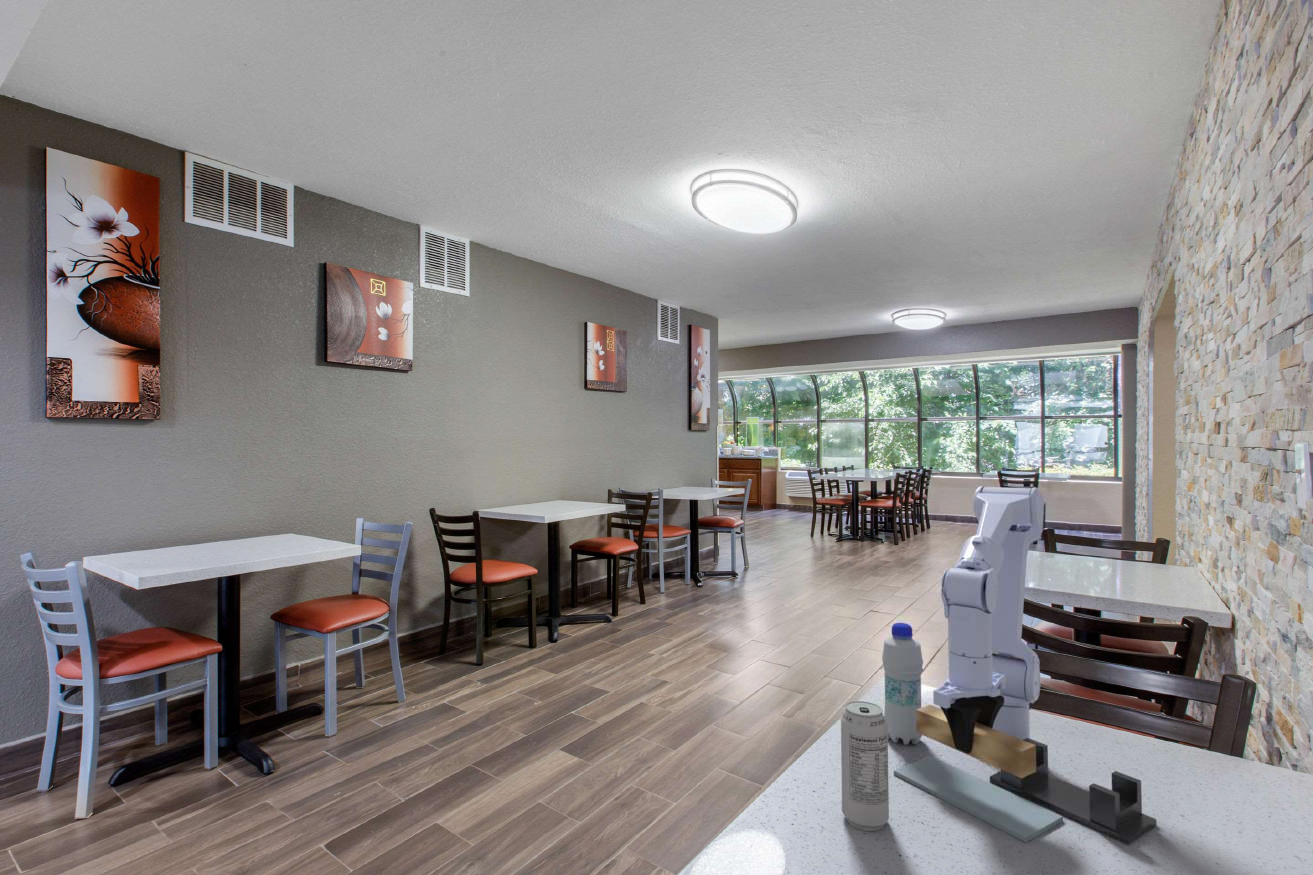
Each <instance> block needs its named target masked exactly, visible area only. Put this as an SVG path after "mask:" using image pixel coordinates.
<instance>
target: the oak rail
mask: <svg viewBox="0 0 1313 875" xmlns="http://www.w3.org/2000/svg"><path fill="white" fill-rule="evenodd" d="M916 733H919V734H921V735H922V736H924V737H926V738H929V740H933V741H935V742H937V743H940V744H942V745H944V746H946V747H949V748H952V749H953V750H955V751H958V752H961V753H963V754H965V755H967V756H969V757H972V758H973V759H976V760H978V761H981V762H983V763H985V764H988V765H990V766H993V767H995V768H997V769H999V770H1000V769H1001V770H1004V771H1006V772H1008V773H1011V774H1013V775H1015V776H1018V777H1020V778H1024V777H1026V776H1028V775H1030V774H1032V773H1034V772H1036V745H1034V744H1031V743H1029V742H1026V741H1024V740H1021V739H1018V738H1016V737H1013V736H1010V735H1008V734H1005V733H1003V732H1000V731H997V730H995V729H992V728H990V727H987V726H984V725H982V724H979V723H977V722H976V724H975V728H974V738H973V747H972V751H971V753H965V752H963V751H961V750H958V749H956V748H955V744H954V741H953V737H952V733H951V730H950V727H949V724H948V721H947V719H946V717H945V715H944V713H943V711H942V709H941V708H940V707H937V706H934V705H932V704H929V705H926V706H921V708H919V709H916ZM1001 770H1000V771H1001Z"/></svg>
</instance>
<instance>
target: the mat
mask: <svg viewBox="0 0 1313 875" xmlns="http://www.w3.org/2000/svg"><path fill="white" fill-rule="evenodd" d="M893 776H897V777H898V778H900V779H902V780H904V781H906V782H908V783H909V784H912V785H914V786H915V787H918V788H920V789H922V790H924V791H925V792H927V793H929V794H931V795H933V796H935V797H937V798H939V799H941V800H943V801H944V802H947V803H948V804H950V805H953V806H955V807H956V808H958V809H960V810H962V811H964V812H966V813H967V814H970V815H971V816H973V817H976V818H978V819H980V820H982V821H983V822H986V823H987V824H989V825H991V826H993V827H995V828H998V829H999V830H1001V831H1003V832H1005V833H1007V834H1008V835H1010V836H1013V837H1014V838H1017V839H1018V840H1020V841H1021V842H1022V841H1023V842H1024V843H1027V842H1030V841H1031V840H1033V839H1035V838H1036V837H1038V836H1039V835H1040V836H1041V834H1044V832H1047V831H1048V830H1050V829H1052V828H1054V827H1055V826H1056V825H1058V824H1060V823H1062V822H1064V817H1063V816H1064V815H1062V814H1060V813H1057V812H1055V811H1053V810H1051V809H1049V808H1046V807H1044V806H1042V805H1040V804H1038V803H1036V802H1033V801H1031V800H1029V799H1027V798H1025V797H1022V796H1020V795H1018V794H1016V793H1014V792H1011V791H1009V790H1007V789H1005V788H1003V787H1000V786H998V785H996V784H994V783H992V782H990V781H986V780H984V779H982V778H980V777H978V776H975V775H974V774H971V773H969V772H968V771H964V770H963V769H960V768H958V767H957V766H954V765H952V764H949V763H947V762H945V761H943V760H941V759H938V758H936V757H935V756H932V755H929V756H926V757H924V758H921V759H918V760H916V761H914V762H911V763H909V764H908V763H907V764H906V765H903V766H901V767H899V768H896V769H894V770H893Z"/></svg>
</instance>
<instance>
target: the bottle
mask: <svg viewBox="0 0 1313 875" xmlns="http://www.w3.org/2000/svg"><path fill="white" fill-rule="evenodd" d="M882 648H883V649H882V655H881V661H882V668H883V669H884V710H883V711H884V712H883V715H884V717H885V719H886V721H887V724H888V739H890V740H891V741H892V742H894V743H895V744H897V743H899V739H901V740H902V741H903V745H904V746H907V745H908V746H909V744H910V741H911V744H913V745H916V744H919V742H920V741H921V738H922V736H923V735H921V734H919V733H916V709H919V708H922V673H923V671H924V668H923V667H924V666H923V665H924V660H923V653H922V648H921V642H919V641H917V640H915V639H914V638H913V627H912V625H910V624H908V623H906V622H895V623H893V624H892V625H891V636H890V637H888V638H885V639H884V641H883V647H882Z"/></svg>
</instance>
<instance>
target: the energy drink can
mask: <svg viewBox="0 0 1313 875" xmlns="http://www.w3.org/2000/svg"><path fill="white" fill-rule="evenodd" d="M883 711H884V710H883V708H882V707H881V706H879V705H878V704H876V703H873V702H870V701H861V700H854V701H849V702H847V703H846V704H845V708H844V711H843V713H842V714H841V717H840V743H841V745H840V746H841V750H840V751H841V753H840V754H841V756H840V758H841V765H840V766H841V812H842V814H843V815H844V817H845V818H846V821H847V822H848V823H849V824H850V825H851V826H852V827H854V828H855V829H858V830H861V831H865V832H876V831H880V830H881V829H883V828H884V827H885V824H886V823H887V822H888V821H889V818H890V813H889V812H890V811H889V809H890V808H889V806H890V805H889V804H890V803H889V802H890V801H889V799H890V797H889V794H890V793H889V791H890V790H889V743H888V742H889V737H888V724H887V721H886V719H885V717H884V712H883Z"/></svg>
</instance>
